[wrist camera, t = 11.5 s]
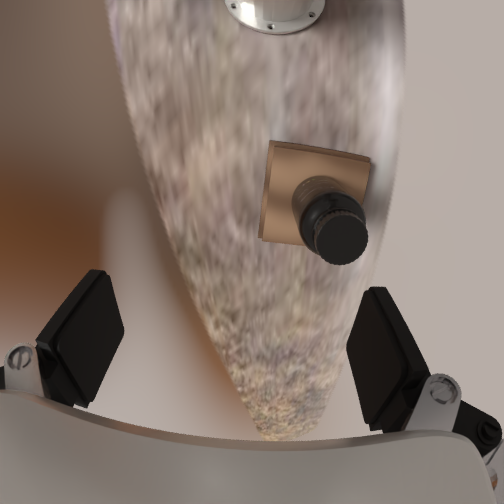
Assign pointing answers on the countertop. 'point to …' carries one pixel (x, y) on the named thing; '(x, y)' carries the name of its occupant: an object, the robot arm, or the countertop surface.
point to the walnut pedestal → (293, 173)
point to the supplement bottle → (329, 220)
